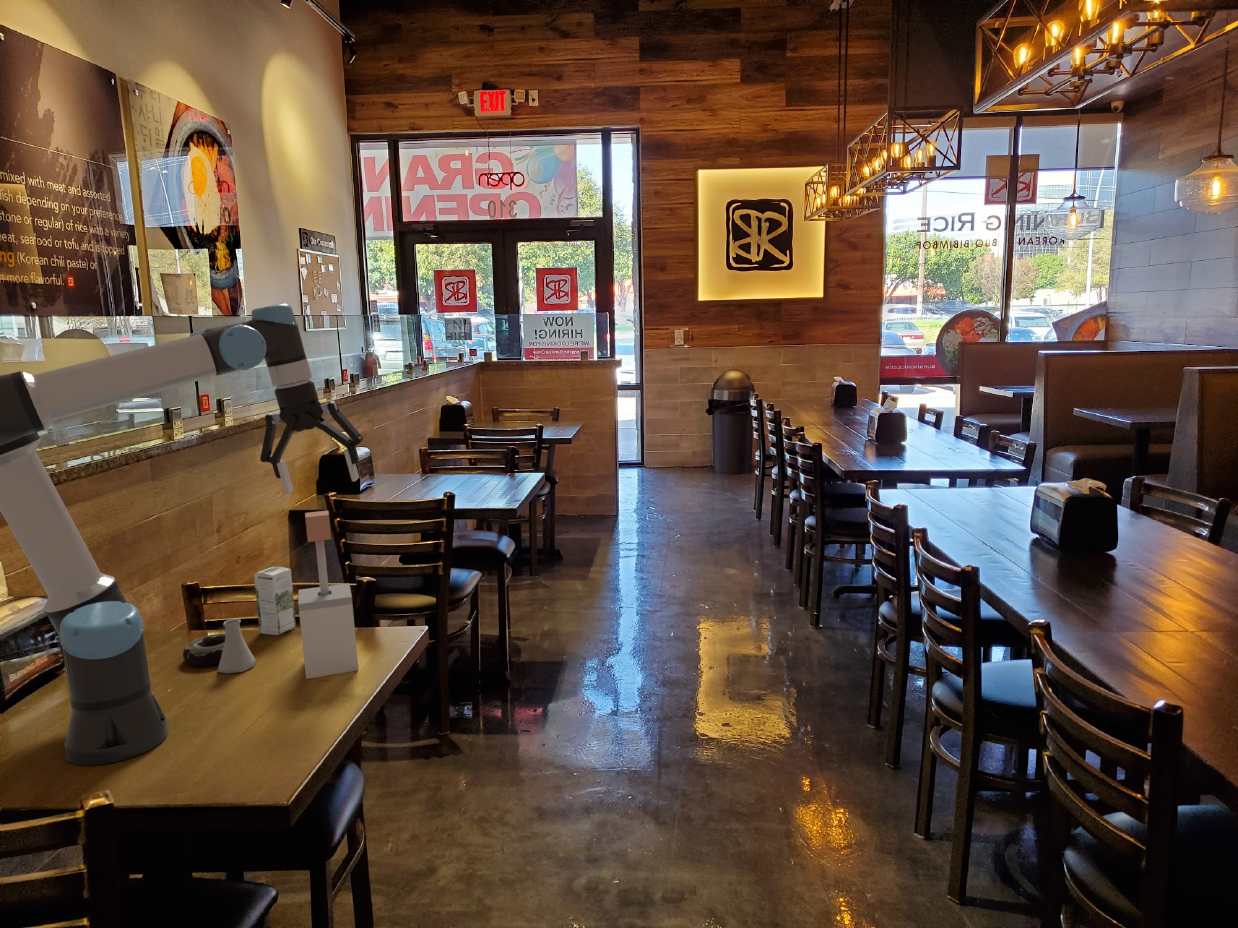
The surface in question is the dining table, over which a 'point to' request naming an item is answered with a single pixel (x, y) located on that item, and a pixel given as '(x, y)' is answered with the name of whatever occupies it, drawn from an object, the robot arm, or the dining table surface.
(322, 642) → the slotted white box
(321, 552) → the pump plunger
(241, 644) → the flask
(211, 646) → the donut
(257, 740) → the dining table surface
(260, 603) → the syrup box
